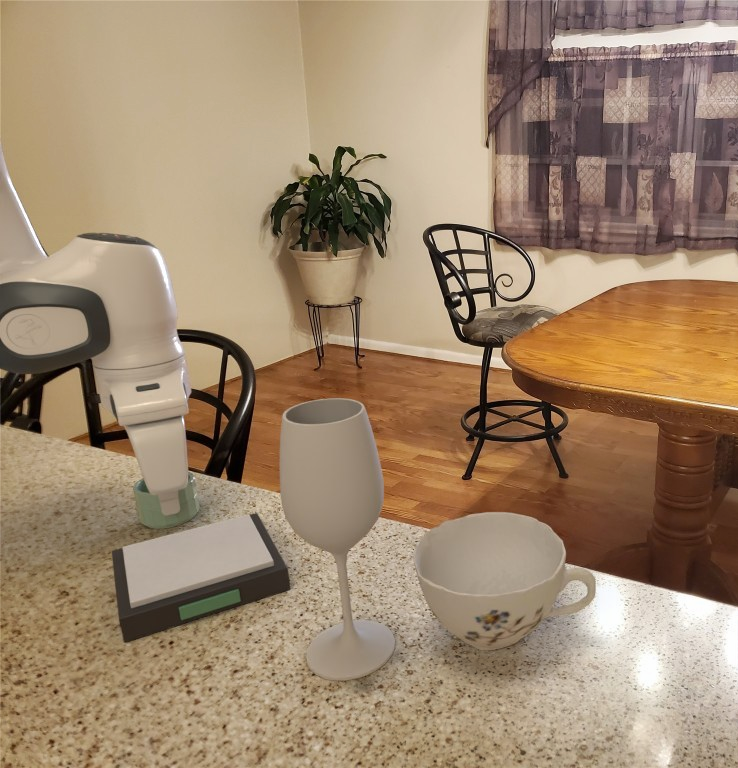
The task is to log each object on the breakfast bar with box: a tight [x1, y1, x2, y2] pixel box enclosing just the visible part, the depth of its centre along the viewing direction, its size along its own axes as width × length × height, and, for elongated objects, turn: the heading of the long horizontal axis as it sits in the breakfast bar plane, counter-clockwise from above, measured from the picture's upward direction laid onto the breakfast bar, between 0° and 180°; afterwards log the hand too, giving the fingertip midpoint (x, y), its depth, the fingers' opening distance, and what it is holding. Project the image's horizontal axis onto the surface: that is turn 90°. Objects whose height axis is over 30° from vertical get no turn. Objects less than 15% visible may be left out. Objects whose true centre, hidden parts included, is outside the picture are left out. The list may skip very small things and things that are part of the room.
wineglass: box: [279, 397, 396, 681], centre depth 54 cm, size 8×8×21 cm
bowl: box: [132, 471, 201, 530], centre depth 79 cm, size 6×6×4 cm
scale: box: [111, 512, 291, 643], centre depth 66 cm, size 14×13×3 cm
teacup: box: [413, 511, 597, 651], centre depth 57 cm, size 15×12×8 cm
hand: (167, 498), depth 79 cm, fingers closed on bowl, 6 cm apart
